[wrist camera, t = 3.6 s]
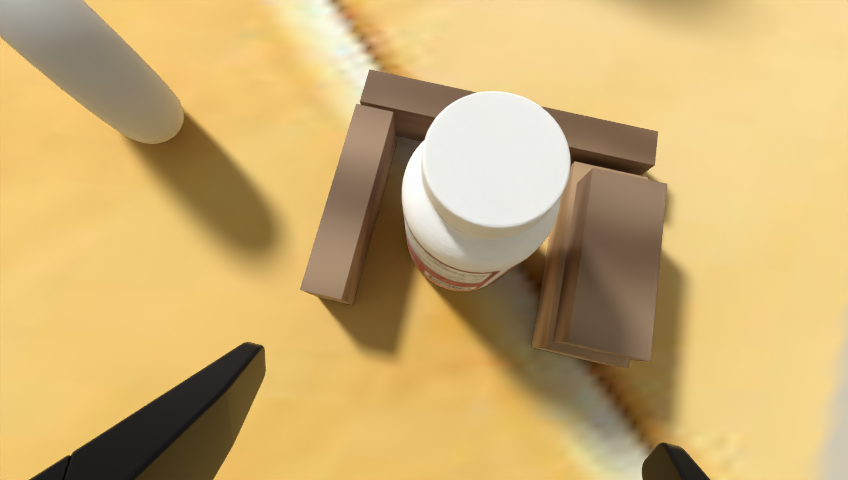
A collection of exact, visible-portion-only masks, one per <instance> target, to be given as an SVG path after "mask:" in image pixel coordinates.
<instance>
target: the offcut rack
mask: <svg viewBox="0 0 848 480" xmlns="http://www.w3.org/2000/svg"><path fill="white" fill-rule="evenodd" d="M474 93H476V92H472V91H467V90H462V89H458V88H453V87H448V86H444V85H439V84H434V83H430V82H425V81H420V80H416V79H411V78H407V77H402V76H397V75H393V74H388V73H383V72H379V71H374V70H369V73H368V76H367V80H366V83H365V86H364V90H363V93H362V96H361V100H360V103H361V105H359V104H356V106H355V110H354V113H353V116H352V120H351V123H350V126H349V130H348V133H347V136H346V139H345V143H344V146H343V149H342V153H341V156H340V159H339V163H338V166H337V169H336V172H335V176H334V179H333V182H332V186H331V189H330V192H329V196H328V199H327V202H326V206H325V209H324V212H323V215H322V219H321V222H320V225H319V229H318V232H317V235H316V239H315V242H314V245H313V248H312V252H311V255H310V258H309V262H308V265H307V268H306V272H305V275H304V278H303V281H302V285H301V288H300V290H302V291H305V292H307V293H309V294H312V295H314V296H317V297H320V298H325V299H329V300H333V301H337V302H342V303H346V304H350V305H353V302H354V299H355V295H356V291H357V287H358V284H359V280H360V276H361V273H362V269H363V265H364V262H365V258H366V254H367V250H368V247H369V243H370V239H371V236H372V232H373V228H374V224H375V221H376V217H377V213H378V210H379V206H380V202H381V198H382V195H383V191H384V187H385V184H386V180H387V176H388V173H389V169H390V165H391V161H392V158H393V154H394V150H395V147H396V135H397V136H402V137H406V138H411V139H415V140H420V141H424V140H425V137H426V134H427V132H428V129H429V128H430V126H431V124H432V123H433V121H434V120H435V118H436V117H437V116H438V115H439V114H440V113H441V112H442V111H443V110H444V109H445V108H446V107H447V106H449V105H450V104H452V103H453V102H455V101H456V100H458V99H460V98H462V97H465V96H468V95H471V94H474ZM542 108H543V109H544V110H546V111H547V112H548V113H549V114H550V115H551V116H552V117H553V118H554V119H555V121H556V122H557V123H558V125H559V126H560V128H561V129H562V131H563V133H564V135H565V138H566V140H567V143H568V147H569V152H570V161H571V165H570V174H569V179H568V182H567V185H566V188H565V190H564V192H563V194H562V196H561V199H560V208H559V212H558V216H557V219H556V222H555V224H554V226H553V228H552V230H551V232H550V236H549V242H548V248H547V255H546V261H545V267H544V273H543V279H542V285H541V292H540V298H539V304H538V310H537V316H536V322H535V329H534V335H533V341H532V348H537V349H541V350H545V351H549V352H554V353H558V354H562V355H566V356H571V357H575V358H579V359H583V360H587V361H592V362H596V363H600V364H604V365H611V366H618V367H625V368H628V365H629V359H632V360H641V361H651V350H652V339H653V329H654V318H655V307H656V297H657V286H658V275H659V265H660V254H661V244H662V233H663V222H664V212H665V201H666V190H667V184H665V183H661V182H656V181H652V180H648V177H644V176H640V175H642V174H643V173H645V172H646V171H647V170H649V169H650V168H651V167H653V166H654V165H655V157H656V147H657V137H658V132H657V131H653V130H648V129H644V128H639V127H634V126H630V125H625V124H620V123H616V122H611V121H606V120H602V119H597V118H592V117H588V116H583V115H578V114H574V113H569V112H565V111H560V110H555V109H551V108H546V107H542Z"/></svg>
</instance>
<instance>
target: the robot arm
mask: <svg viewBox="0 0 848 480" xmlns="http://www.w3.org/2000/svg"><path fill="white" fill-rule="evenodd" d="M265 371H266V366H265V349H264V347H263V346H262V345H259V344H255V343H251V342H245V343H243V344H241V345H240V346H238V347H236V348H235V349H233V350H232V351H230V352H229V353H227V354H225V355H224V356H222V357H221V358H219V359H218V360H216V361H215V362H213V363H211V364H210V365H208V366H207V367H205V368H204V369H202V370H200V371H199V372H197V373H196V374H194V375H193V376H191V377H190V378H188V379H186V380H185V381H183V382H182V383H180V384H179V385H177V386H175V387H174V388H172V389H171V390H169V391H168V392H166V393H165V394H163V395H161V396H160V397H158V398H157V399H155V400H154V401H152V402H150V403H149V404H147V405H146V406H144V407H143V408H141V409H140V410H138V411H136V412H135V413H133V414H132V415H130V416H129V417H127V418H125V419H124V420H122V421H121V422H119V423H118V424H116V425H115V426H113V427H111V428H110V429H108V430H107V431H105V432H104V433H102V434H100V435H99V436H97V437H96V438H94V439H93V440H91V441H90V442H88V443H86V444H85V445H83V446H82V447H80V448H79V449H77V450H75V451H74V452H73V453H72V455H71V456H70V455H68V456H66V457H64V458H63V459H61V460H60V461H58V462H56V463H55V464H53V465H52V466H50V467H49V468H47V469H45V470H44V471H42V472H41V473H39V474H37V475H36V476H34V477H33V478H31V479H29V480H213V479H214V477H215V475H216V474H217V472H218V470H219V469H220V467H221V465H222V464H223V462H224V460H225V458H226V457H227V455H228V453H229V451H230V450H231V448H232V446H233V444H234V442H235V440H236V438H237V436H238V434H239V432H240V429H241V427H242V425H243V423H244V421H245V418H246V416H247V414H248V412H249V410H250V407H251V405H252V403H253V401H254V399H255V396H256V394H257V392H258V390H259V388H260V385H261V383H262V381H263V379H264V376H265ZM642 478H643V480H710V479H709V478H708V477H707V475H706V474H705V473H704V472H703V471H702V470H701V468H700V467H699V466H698V465H697V464H696V463H695V461H694V460H693V459H692V458H691V457H690V456H689V454H688V453H687V452H686V451H685V450H684V449H683V448H681V447H679V446H676V445H672V444H668V443H660V444H658V445H657V446H656V448H655V449H654V450H653V451H652V452H651V454H650V455H649V456H648V457H647V458H646V459H645V461H644V463H643V466H642Z"/></svg>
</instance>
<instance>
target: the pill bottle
mask: <svg viewBox="0 0 848 480" xmlns="http://www.w3.org/2000/svg"><path fill="white" fill-rule="evenodd" d="M570 165H571V161H570V152H569V147H568V143H567V140H566V138H565V135H564V133H563V131H562V129H561V128H560V126H559V125H558V123H557V122H556V121H555V119H554V118H553V117H552V116H551V115H550V114H549V113H548V112H547V111H546V110H544V109H543V108H542V107H541V106H539V105H538V104H536V103H534V102H532V101H531V100H529V99H527V98H525V97H522V96H519V95H515V94H512V93H507V92H500V91H487V92H479V93H474V94H471V95H468V96H465V97H462V98H460V99H458V100H456V101H455V102H453V103H452V104H450V105H449V106H447V107H446V108H445V109H444V110H443V111H442V112H441V113H440V114H439V115H438V116H437V117H436V118H435V120H434V121H433V123H432V124H431V126H430V128H429V129H428V132H427V134H426V137H425V140H424V141H423V142H422V143H421V144H420V145H419V146H418V148H417V149H416V150H415V152H414V153H413V155H412V156H411V158H410V160H409V162H408V165H407V167H406V170H405V174H404V177H403V183H402V206H403V214H404V221H405V230H406V238H407V245H408V249H409V252H410V255H411V258H412V260H413V262H414V264H415V265H416V267H417V268H418V269H419V271H420V272H421V273H422V274H423V275H424V276H425V277H426V278H427V279H429V280H430V281H431V282H433V283H434V284H436V285H438V286H440V287H443V288H445V289H449V290H454V291H472V290H476V289H480V288H483V287H485V286H487V285H489V284H491V283H493V282H495V281H496V280H497V279H499V278H500V277H501V276H503V275H504V274H505V273H507V272H508V271H509V270H511V269H512V268H514V267H515V266H516V265H518V264H519V263H521V262H522V261H524V260H525V259H526V258H528V257H529V256H530V255H531V254H533V253H534V252H535V251H536V250H537V249H538V248H539V246H540V245H541V244H542V243H543V242H544V241H545V239H546V238H547V237H548V235H549V234H550V232H551V230H552V228H553V226H554V224H555V222H556V219H557V216H558V212H559V208H560V199H561V196H562V194H563V192H564V190H565V188H566V185H567V182H568V179H569V174H570Z"/></svg>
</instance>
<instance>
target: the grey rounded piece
mask: <svg viewBox="0 0 848 480" xmlns="http://www.w3.org/2000/svg"><path fill="white" fill-rule="evenodd" d="M0 37H1V38H2V39H3V40H4V41H6V42H7V43H8V44H9V45H10V46H11V47H12V48H13V49H15V50H16V51H17V52H18V53H19V54H20V55H22V56H23V57H24V58H25V59H26V60H27V61H29V62H30V63H31V64H32V65H33V66H34V67H36V68H37V69H38V70H39V71H40V72H42V73H43V74H44V75H45V76H47V77H48V78H49V79H50V80H51V81H53V82H54V83H55V84H56V85H57V86H59V87H60V88H61V89H62V90H64V91H65V92H66V93H67V94H69V95H70V96H71V97H73V98H74V99H75V100H76V101H78V102H79V103H80V104H81V105H83V106H84V107H85V108H87V109H88V110H89V111H91V112H92V113H93V114H95V115H96V116H97V117H99V118H100V119H101V120H103V121H104V122H106V123H107V124H109V125H110V126H111V127H113V128H114V129H116V130H117V131H119V132H120V133H122V134H123V135H125V136H127V137H129V138H131V139H133V140H136V141H139V142H142V143H150V144H157V143H161V142H166V141H168V140H169V139H171V138H173V137H175V135H176V134H177V133H178V132H179V131H180V129H181V127H182V124H183V121H184V113H183V108H182V105H181V103H180V100H179V99H178V98H177V97H176V95H175V94H174V93H173V91H172V90H171V89H170V88H169V86H168V85H167V84H166V83H165V82H164V81H163V80H162V79H161V78H160V77H159V75H158V74H157V73H156V72H155V71H154V70H153V69H152V68H151V67H150V66H149V65H148V64H147V63H146V62H145V61H144V60H143V59H142V58H141V57H140V56H139V55H138V54H137V53H136V52H135V51H134V50H133V49H132V48H131V47H130V46H129V45H128V44H127V43H126V42H125V41H124V40H123V39H122V38H121V37H120V36H119V35H118V34H117V33H116V32H115V31H114V30H113V29H112V28H111V27H110V26H109V25H108V24H107V23H106V22H105V21H104V20H103V19H102V18H101V17H100V16H99V15H98V14H97V13H96V12H95V11H94V10H93V9H92V8H90V7H89V6H88V5H87V4H86V3H85V2H84V1H83V0H0Z"/></svg>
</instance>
